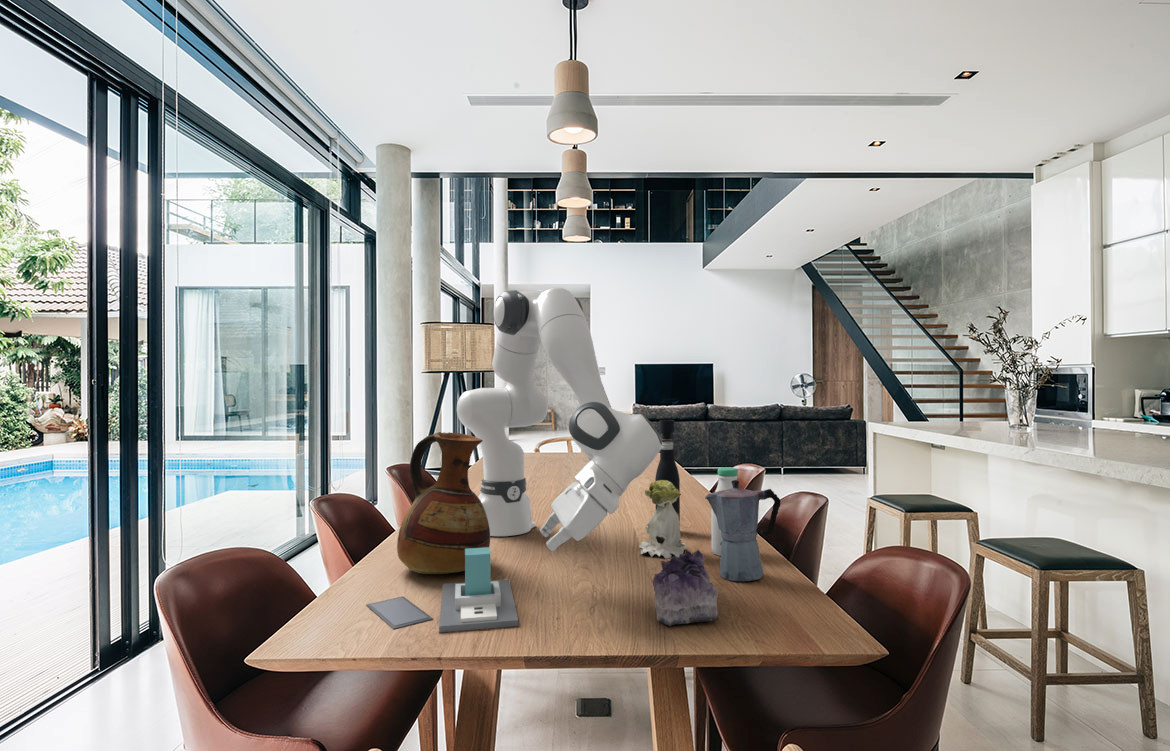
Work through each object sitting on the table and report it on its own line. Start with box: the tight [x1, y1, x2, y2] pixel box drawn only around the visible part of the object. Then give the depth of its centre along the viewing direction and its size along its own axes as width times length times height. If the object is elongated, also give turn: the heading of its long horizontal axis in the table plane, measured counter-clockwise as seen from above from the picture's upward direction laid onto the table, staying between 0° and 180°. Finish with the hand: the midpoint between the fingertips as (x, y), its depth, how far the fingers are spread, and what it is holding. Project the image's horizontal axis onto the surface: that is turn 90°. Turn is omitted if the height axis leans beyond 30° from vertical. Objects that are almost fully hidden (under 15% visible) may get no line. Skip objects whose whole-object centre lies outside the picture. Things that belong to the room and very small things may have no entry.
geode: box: [652, 549, 719, 627], centre depth 115 cm, size 20×12×10 cm, turn 173°
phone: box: [366, 596, 434, 630], centre depth 114 cm, size 7×14×1 cm, turn 37°
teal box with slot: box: [464, 546, 492, 596], centre depth 117 cm, size 4×5×9 cm
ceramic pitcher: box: [396, 431, 491, 575], centre depth 139 cm, size 20×20×30 cm
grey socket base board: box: [438, 578, 519, 633], centre depth 117 cm, size 22×13×3 cm, turn 11°
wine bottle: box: [654, 419, 681, 522], centre depth 170 cm, size 6×6×30 cm
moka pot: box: [704, 480, 782, 582], centre depth 133 cm, size 10×15×20 cm, turn 88°
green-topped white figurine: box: [638, 480, 688, 559], centre depth 152 cm, size 11×12×17 cm
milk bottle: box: [710, 466, 739, 557], centre depth 150 cm, size 8×8×20 cm
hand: (545, 540), depth 120 cm, fingers open, 8 cm apart
